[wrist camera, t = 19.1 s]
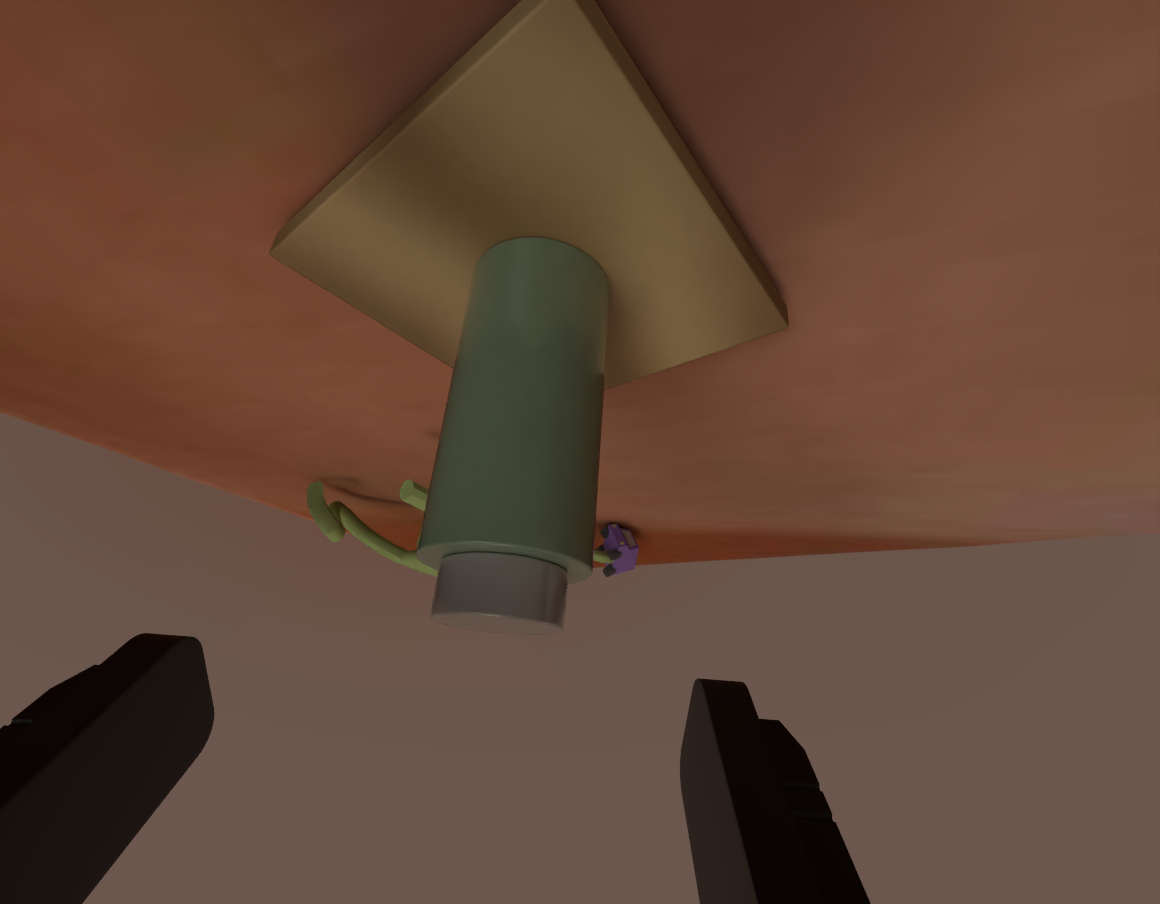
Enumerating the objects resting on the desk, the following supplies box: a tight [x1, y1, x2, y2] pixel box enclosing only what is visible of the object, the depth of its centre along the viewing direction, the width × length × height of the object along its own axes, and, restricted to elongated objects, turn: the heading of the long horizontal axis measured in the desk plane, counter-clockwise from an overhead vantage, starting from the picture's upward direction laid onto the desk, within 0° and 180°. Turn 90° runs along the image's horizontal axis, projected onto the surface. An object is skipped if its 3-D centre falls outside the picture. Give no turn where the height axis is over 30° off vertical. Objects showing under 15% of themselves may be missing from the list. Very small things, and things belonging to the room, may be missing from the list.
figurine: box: [307, 479, 639, 577], centre depth 42 cm, size 18×27×6 cm
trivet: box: [269, 0, 789, 390], centre depth 18 cm, size 12×12×1 cm
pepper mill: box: [416, 237, 610, 635], centre depth 15 cm, size 4×4×10 cm
